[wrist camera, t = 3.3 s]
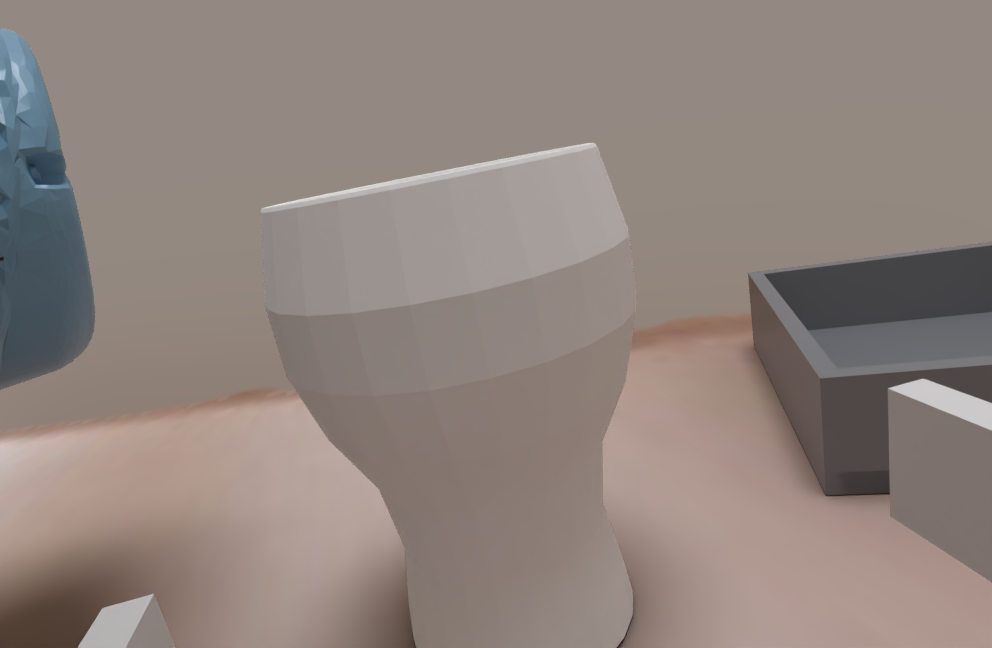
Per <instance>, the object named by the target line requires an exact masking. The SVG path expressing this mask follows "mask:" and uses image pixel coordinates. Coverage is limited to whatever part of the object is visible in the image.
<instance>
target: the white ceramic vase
mask: <svg viewBox="0 0 992 648" xmlns="http://www.w3.org/2000/svg"><path fill="white" fill-rule="evenodd" d="M261 229H262V248H263V268H264V285H265V286H264V287H265V307H266V311H267V314H268V318H269V321H270V324H271V327H272V330H273V334H274V337H275V340H276V343H277V347H278V350H279V353H280V357H281V360H282V363H283V366H284V369H285V372H286V376H287V378H288V380H289V381H290V383H291V384H292V386H293V387H294V389H295V390H296V392H297V393H298V395H299V396H300V398H301V399H302V401H303V402H304V404H305V405H306V407H307V408H308V410H309V411H310V413H311V414H312V416H313V417H314V419H315V420H316V422H317V423H318V425H319V426H320V428H321V429H322V431H323V432H324V434H325V435H326V437H327V438H328V440H329V441H330V442H331V443H332V444H333V445H334V446H335V447H336V448H337V449H338V450H339V451H341V452H342V453H343V454H344V455H345V456H346V457H347V458H348V459H349V460H350V461H351V462H352V463H353V464H354V465H355V466H356V467H357V468H358V469H359V470H360V471H361V472H362V473H363V474H364V475H365V476H366V477H367V478H368V479H369V480H370V481H371V482H372V483H373V484H374V485H375V486H376V487H377V488H378V489H379V490H380V492H381V495H382V497H383V499H384V502H385V504H386V506H387V508H388V511H389V513H390V515H391V518H392V520H393V522H394V524H395V527H396V529H397V531H398V533H399V536H400V538H401V540H402V543H403V545H404V547H405V559H406V573H407V588H408V603H409V610H410V617H411V625H412V632H413V637H414V641H415V645H416V648H617V646H618V645H619V644H620V642H621V641H622V640H623V639H624V637H625V635H626V632H627V629H628V626H629V624H630V621H631V618H632V616H633V590H632V587H631V583H630V580H629V577H628V573H627V570H626V566H625V563H624V560H623V557H622V554H621V551H620V549H619V546H618V543H617V540H616V538H615V535H614V532H613V529H612V527H611V524H610V521H609V518H608V516H607V513H606V510H605V507H604V505H603V455H602V441H603V439H604V436H605V434H606V431H607V428H608V426H609V423H610V420H611V418H612V415H613V413H614V410H615V407H616V405H617V402H618V399H619V397H620V394H621V392H622V389H623V386H624V384H625V380H626V374H627V368H628V361H629V355H630V349H631V342H632V336H633V330H634V323H635V317H636V310H637V295H636V287H635V279H634V271H633V263H632V256H631V247H630V240H629V231H628V227H627V224H626V222H625V219H624V216H623V214H622V211H621V209H620V206H619V203H618V201H617V198H616V195H615V193H614V190H613V187H612V185H611V182H610V180H609V177H608V175H607V172H606V169H605V167H604V164H603V161H602V159H601V156H600V153H599V151H598V148H597V146H596V144H595V143H587V144H580V145H574V146H569V147H563V148H558V149H552V150H547V151H541V152H536V153H531V154H526V155H520V156H515V157H510V158H505V159H500V160H495V161H489V162H484V163H479V164H474V165H469V166H464V167H459V168H454V169H448V170H444V171H439V172H433V173H428V174H424V175H418V176H413V177H408V178H403V179H398V180H393V181H388V182H384V183H378V184H373V185H369V186H363V187H359V188H353V189H348V190H343V191H339V192H334V193H329V194H324V195H319V196H315V197H310V198H305V199H300V200H295V201H291V202H286V203H282V204H277V205H273V206H269V207H265V208H262V210H261Z"/></svg>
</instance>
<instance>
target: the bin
mask: <svg viewBox="0 0 992 648" xmlns="http://www.w3.org/2000/svg"><path fill="white" fill-rule="evenodd" d="M748 277H749V291H750V303H751V315H752V328H753V340H754V347H755V349H756V351H757V353H758V355H759V357H760V360H761V362H762V364H763V366H764V368H765V370H766V372H767V374H768V376H769V378H770V380H771V382H772V384H773V386H774V389H775V391H776V393H777V395H778V397H779V399H780V401H781V403H782V405H783V407H784V409H785V411H786V413H787V416H788V418H789V420H790V422H791V424H792V426H793V428H794V430H795V432H796V434H797V436H798V438H799V440H800V442H801V445H802V447H803V449H804V451H805V453H806V455H807V457H808V459H809V461H810V463H811V465H812V467H813V469H814V471H815V474H816V476H817V478H818V480H819V482H820V484H821V486H822V488H823V490H824V492H825V494H826V495H848V494H879V493H890V476H889V427H888V388H891V387H894V386H898V385H901V384H905V383H909V382H912V381H916V380H919V379H926V380H929V381H932V382H935V383H937V384H940V385H943V386H946V387H948V388H951V389H954V390H957V391H959V392H962V393H965V394H968V395H971V396H973V397H976V398H979V399H982V400H984V401H987V402H990V403H992V242H987V243H979V244H971V245H964V246H956V247H948V248H940V249H932V250H924V251H916V252H909V253H901V254H893V255H885V256H878V257H869V258H862V259H854V260H845V261H838V262H830V263H822V264H814V265H806V266H798V267H790V268H783V269H775V270H767V271H759V272H752V273H748Z"/></svg>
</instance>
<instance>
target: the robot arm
mask: <svg viewBox="0 0 992 648" xmlns="http://www.w3.org/2000/svg"><path fill="white" fill-rule="evenodd" d="M65 170H66V163H65V159H64V156H63V152H62V149H61V143H60V136H59V131H58V127H57V123H56V119H55V116H54V112H53V109H52V105H51V102H50V99H49V95H48V92H47V89H46V86H45V83H44V80H43V77H42V74H41V71H40V68H39V66H38V63H37V61H36V58H35V56H34V54H33V53H32V51H31V49H30V46H29V44H28V43H27V42H26V41H25V40H24V39H23V38H22V37H21V36H20V35H18V34H17V33H15V32H13V31H11V30H8V29H4V28H0V390H1V389H4V388H7V387H10V386H13V385H16V384H19V383H21V382H25V381H28V380H30V379H33V378H36V377H39V376H42V375H45V374H48V373H51V372H54V371H57V370H58V369H61V368H63V367H65V366H66V365H68V364H69V363H71V362H73V360H74V359H75V358H77V357H78V356H79V355H80V354H81V353H82V352H83V351H84V350H85V349H86V347H87V346H88V344H89V342H90V340H91V338H92V334H93V331H94V324H95V307H94V296H93V288H92V281H91V275H90V269H89V262H88V257H87V252H86V247H85V241H84V236H83V231H82V227H81V222H80V217H79V213H78V209H77V205H76V201H75V197H74V192H73V188H72V186H71V184H70V181H69V179H68V177H67V176H66V174H65ZM888 427H889V476H890V516H891V517H892V518H894V519H895V520H897V521H899V522H900V523H902V524H903V525H905V526H906V527H908V528H909V529H911V530H912V531H914V532H915V533H917V534H919V535H920V536H922V537H923V538H925V539H926V540H928V541H929V542H931V543H932V544H934V545H935V546H937V547H939V548H940V549H942V550H943V551H945V552H946V553H948V554H949V555H951V556H952V557H954V558H955V559H957V560H959V561H960V562H962V563H963V564H965V565H966V566H968V567H969V568H971V569H972V570H974V571H975V572H977V573H979V574H980V575H982V576H983V577H985V578H986V579H988V580H989V581H991V582H992V403H990V402H987V401H984V400H982V399H979V398H976V397H973V396H971V395H968V394H965V393H962V392H959V391H957V390H954V389H951V388H948V387H946V386H943V385H940V384H937V383H935V382H932V381H929V380H926V379H919V380H916V381H912V382H909V383H905V384H901V385H898V386H894V387H891V388H888ZM78 648H176V647H175V644H174V642H173V639H172V637H171V634H170V632H169V629H168V627H167V624H166V622H165V619H164V617H163V614H162V612H161V609H160V607H159V604H158V602H157V599H156V597H155V594H151V595H147V596H144V597H140V598H137V599H133V600H129V601H126V602H122V603H119V604H115V605H112V606H108V607H104V608H102V610H101V611H100V613H99V614H98V616H97V618H96V619H95V621H94V622H93V624H92V625H91V627H90V629H89V630H88V632H87V633H86V635H85V637H84V638H83V640H82V641H81V643H80V644H79V646H78Z"/></svg>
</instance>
